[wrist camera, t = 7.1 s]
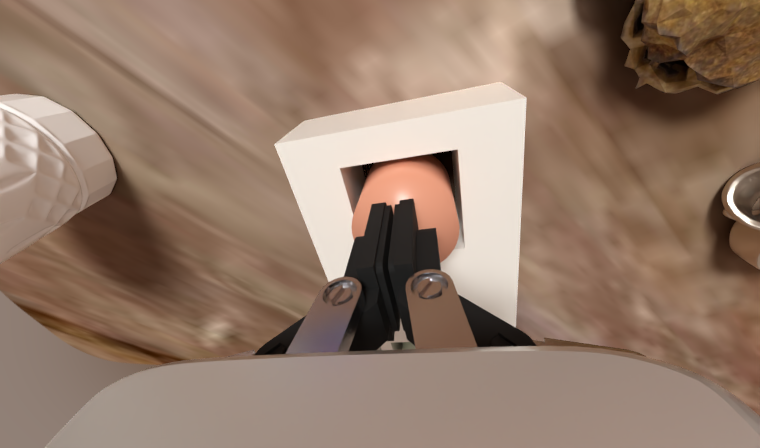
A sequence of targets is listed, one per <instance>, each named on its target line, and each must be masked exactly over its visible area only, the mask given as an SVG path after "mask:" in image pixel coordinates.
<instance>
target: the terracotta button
mask: <svg viewBox="0 0 760 448" xmlns="http://www.w3.org/2000/svg"><path fill="white" fill-rule="evenodd" d="M405 199H414V204H415V210H416V216H417V222H418V228H419V230H421V229H429V228H436V232H437V240H438V248H439V256H440V263H441V262H442V261H444V260H445V259H446V258H447V257H448V256H449V255H450V254H451V252H452V251H453V250H454V248H455V246H456V244H457V241H458V238H459V221H458V216H457V211H456V206H455V202H454V197H453V192H452V188H451V183H450V178H449V175H448V172H447V170H446V168H445V167H444V165H443V164H442V163H441V162H440V161H439V160H438V159H437V158H436V157H435V156H433V155H432V154H426V155H419V156H413V157H407V158H401V159H394V160H388V161H382V162H376V163H374V164H373V165H372V167H371V169H370V170H369V173H368V175H367V178H366V181H365V184H364V186H363V189H362V192H361V195H360V198H359V201H358V203H357V206H356V209H355V212H354V215H353V219H352V226H351V227H352V235H353V239H354V240H355V238H356V237H359V236H364V233H365V229H366V225H367V221H368V217H369V213H370V209H371V205H372V204H376V203H383V202H386V204H387V205H391V206H392V210H393V215H394V207H395V204H399V201H400V200H405Z"/></svg>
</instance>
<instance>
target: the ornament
mask: <svg viewBox="0 0 760 448" xmlns="http://www.w3.org/2000/svg"><path fill="white" fill-rule="evenodd" d="M759 197H760V163H756V164H753V165H751V166H749V167H747V168H745V169H743V170H741V171H739V172H738V173H736V174H735V175H734V176H733V177H732V178H731V179H730V180H729V181H728V182H727V183H726V185H725V187H724V189H723V191H722V195H721V198H722V203H723V206H724V209H723V215H725V216H726V217H728V218H731V219H733V220H736V222H735V223H734V225H733V227H732V229H731V232H730V237H729V243H730V248H731V249H732V251H733V252H734V253H736V254H737V255H738V256H739V257H741V258H742V259H743V260H745V261H746V262H748V263H749V264H751V265H752V266H754V267H756V268H757V269H759V270H760V210H755V211H752V207H753V205H754V204H755V202H756V201H757V199H758V198H759Z"/></svg>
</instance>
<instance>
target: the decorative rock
mask: <svg viewBox="0 0 760 448" xmlns="http://www.w3.org/2000/svg"><path fill="white" fill-rule="evenodd" d="M621 39H622V40H623V41H624V42H625V43H626V45H627V46H628V47H629V48H630V51H629V54H628V57H627V60H626V63H625V67H628V68H632V69H635V71H636V73H637V75H638V76H639V78H640V79H639V81H638V83H637V86H636V88H635V89H637V88H639V87H641V86H643V85H645V84H649V85H651V86H653V87H654V88H656V89H658V90H659V91H661V92H663V93H680V92H683V91H686V90H689V89H692V88H695V87H700V88H702V89H705V90H707V91H710V92H712V93H715V94H720V93H723V92H726V91H729V90H731V89H733V88H740V87H742V86H745V85H747V84H750V83H753V82H755V81H758V80H760V0H635V4H634V5H633V7H632V9H631V11H630V13H629V15H628V17H627V19H626V20H625V23H624V27H623V30H622V34H621Z"/></svg>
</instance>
